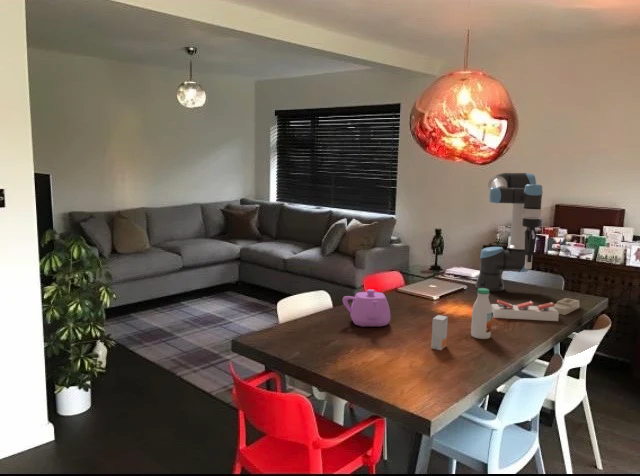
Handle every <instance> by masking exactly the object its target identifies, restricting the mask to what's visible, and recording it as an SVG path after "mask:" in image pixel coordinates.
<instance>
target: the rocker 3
mask: <svg viewBox="0 0 640 476" xmlns="http://www.w3.org/2000/svg"><path fill="white" fill-rule="evenodd" d="M554 304H555V303H554V302H553V301H550V302H547V303H543V304H538V305H536V306H537V307H538V309H539V310H541V309H545V308H549V307H553V306H555V305H554Z"/></svg>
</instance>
